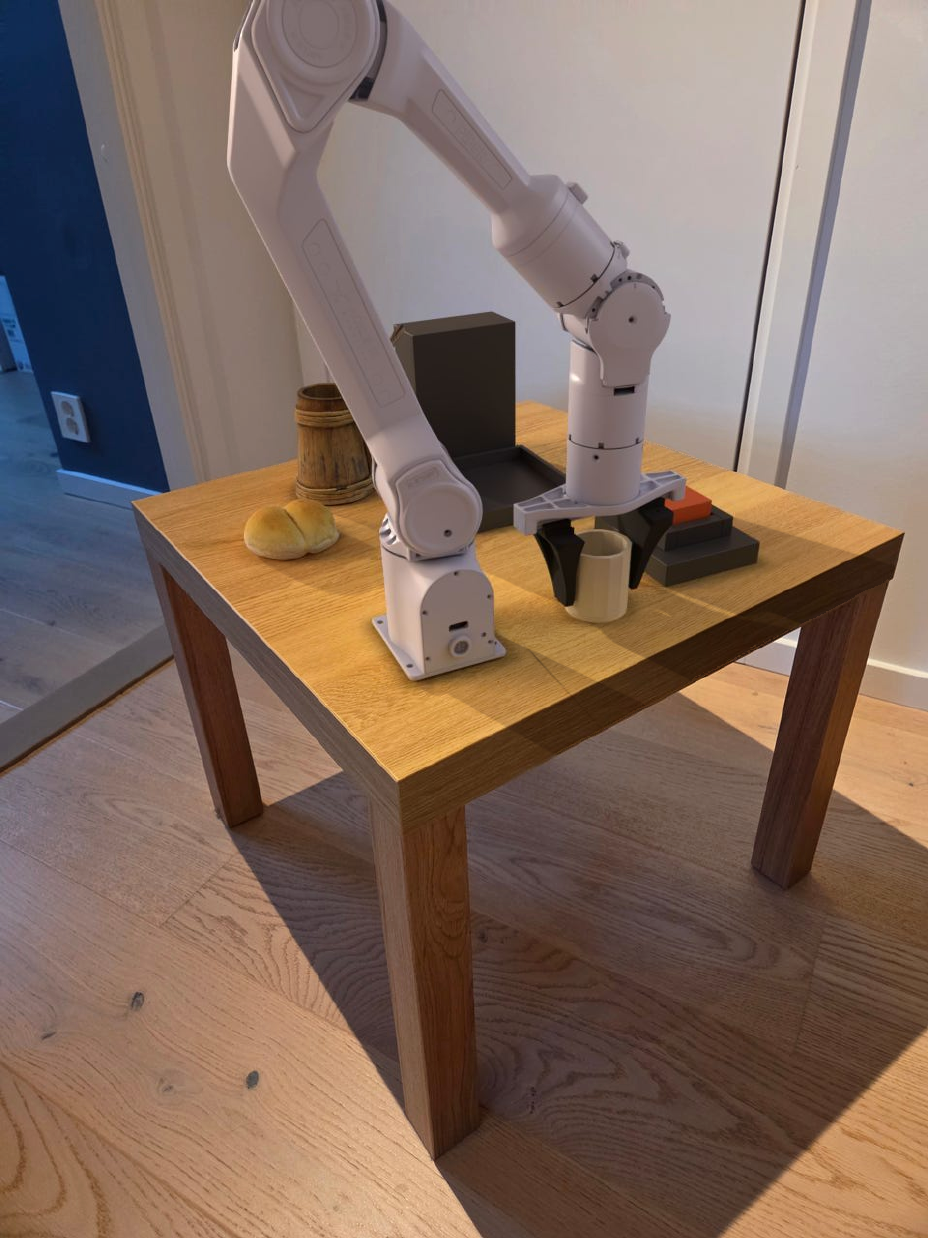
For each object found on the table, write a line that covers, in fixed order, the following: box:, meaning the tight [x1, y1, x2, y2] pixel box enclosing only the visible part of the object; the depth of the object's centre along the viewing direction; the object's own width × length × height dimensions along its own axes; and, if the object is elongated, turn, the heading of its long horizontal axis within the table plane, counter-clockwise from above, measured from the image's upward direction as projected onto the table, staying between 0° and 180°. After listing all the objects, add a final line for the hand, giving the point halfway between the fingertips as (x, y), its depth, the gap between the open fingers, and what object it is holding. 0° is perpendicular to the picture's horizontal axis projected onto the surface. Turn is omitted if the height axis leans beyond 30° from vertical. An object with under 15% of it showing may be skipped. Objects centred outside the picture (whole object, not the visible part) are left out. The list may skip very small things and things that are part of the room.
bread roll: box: [243, 498, 340, 561], centre depth 83 cm, size 8×9×4 cm
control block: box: [593, 503, 761, 588], centre depth 80 cm, size 12×10×4 cm
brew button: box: [665, 485, 713, 525], centre depth 78 cm, size 4×4×2 cm
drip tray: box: [451, 444, 566, 534], centre depth 92 cm, size 15×13×2 cm
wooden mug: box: [294, 323, 405, 506], centre depth 90 cm, size 9×14×18 cm, turn 82°
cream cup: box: [564, 528, 632, 624], centre depth 70 cm, size 5×5×6 cm
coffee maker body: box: [392, 310, 517, 458], centre depth 97 cm, size 6×12×16 cm, turn 114°
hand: (596, 592), depth 71 cm, fingers open, 6 cm apart
